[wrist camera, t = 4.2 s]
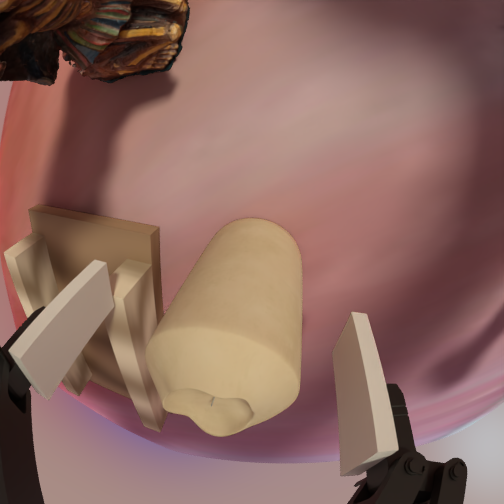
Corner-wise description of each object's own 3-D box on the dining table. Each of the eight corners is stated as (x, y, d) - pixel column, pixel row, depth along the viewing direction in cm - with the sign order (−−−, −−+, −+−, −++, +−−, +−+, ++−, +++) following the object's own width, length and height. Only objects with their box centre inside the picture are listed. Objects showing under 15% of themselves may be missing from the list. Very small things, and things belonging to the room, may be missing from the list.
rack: (38, 204, 17) (-3, 228, 12) (159, 226, 16) (117, 266, 12) (90, 371, 27) (73, 398, 23) (175, 405, 26) (162, 438, 22)
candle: (300, 299, 17) (292, 454, 8) (215, 296, 18) (158, 433, 9) (302, 215, 14) (304, 377, 5) (202, 217, 15) (99, 348, 6)
